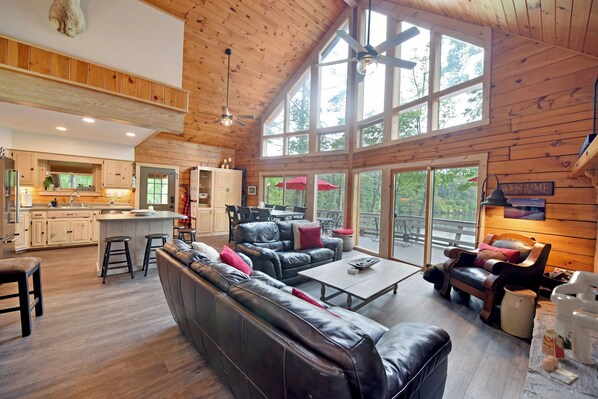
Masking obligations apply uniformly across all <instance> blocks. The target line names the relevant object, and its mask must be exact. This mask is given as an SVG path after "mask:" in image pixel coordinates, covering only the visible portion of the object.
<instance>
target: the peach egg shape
mask: <svg viewBox="0 0 598 399" xmlns="http://www.w3.org/2000/svg"><path fill="white" fill-rule="evenodd" d="M546 358H548V359H550V360H552V361H553V362H554V370H557V369H559V359H558V358H556V357H554V356H551V355H548V356H547V355H546Z"/></svg>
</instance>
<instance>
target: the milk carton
mask: <svg viewBox="0 0 598 399" xmlns="http://www.w3.org/2000/svg"><path fill="white" fill-rule="evenodd" d="M556 336H557V333H556V332H555V331H554V327H552V328H548V329H546V330H544V334H543V338H542V343H541V352H542V353H544V355H546V357H547V356H548V355H551V356H554V357H556V358H558V360H566V354H565V353H566V352H565V349H562V348H560V347H559V346H558V345H556Z"/></svg>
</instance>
